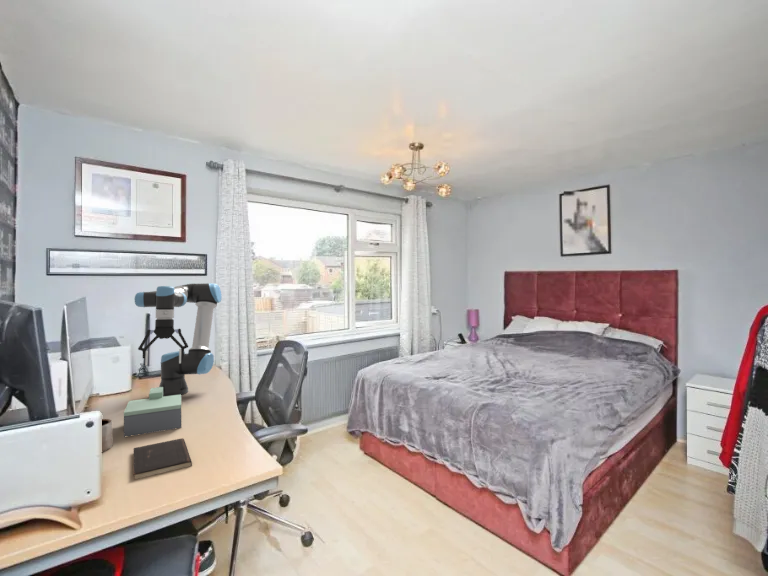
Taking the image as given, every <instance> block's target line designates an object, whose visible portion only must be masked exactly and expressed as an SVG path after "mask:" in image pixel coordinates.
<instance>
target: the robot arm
mask: <svg viewBox="0 0 768 576" xmlns="http://www.w3.org/2000/svg"><path fill="white" fill-rule="evenodd" d="M222 296H223V295H222V291H221V288H220V286H219V284H217V283H212V282H209V283H208V282H207V283H187V284H182V285H178V286H170V285H160V286H157V287H156V290H153V291H139V292H136V294H135V295H134V304H135V305H136V306H137V307H138V308H155V321H154V329H147V331H146V335H145V337H144V338H143V340H142V341H141V342H140V344H139V346H138V348H137V350H138V351H141V352H142V359H145V361H144V362H145V364H144V365H145V367H146V366H148V363H149V362H148V358H149V351H148V349H149V348H150V347H151V346H152V345H153V344H154V343H155V342H156V341H157V340H158V339H160V340H164V339H165V340H166V339H172V341H173V342H174V343H175V344H176V345H177V346H178V347H179V348H180V349H179V350H177V351H171V352H167V353H165V354H162V355H161V357H160V375H161V376H160V384H159V386H158V387H163V397H164V396H172V395H180V394H182V395H185V394H187V393H188V392H189V386H188V384H187V381H186V377H185V375H205V374H208V373H209V372H210V371H211V370H212V368H213V366H214V363H215V358H214V357H215V356H214V353H212V349H211V348H209V346H210V340H211V339H210V337H211V330H212V324H213V323H212V322H213V313H214V309H215V308H216V307H217V306H218V305H217V304H218V303H221V301H222V298H223V297H222ZM187 303H193V304H194V303H195V306H196V307H197V310H196V311H197V312H196V318H195V326H194V332H193V340H192V345H191V347H190V348H189V345H188V343H187V341H186V339H185V338H184V336H183V334H182V328H177V329H175V328H174V327H175V326H174V325H175V323H174V321H175V320H174V318H175V308H181V307H183V306H185V305H186V304H187ZM153 333H154V335H156V336H155V337H153V338H152V340H150V342H148V343H147V344H146V342H147V340H148V338H149V337H150V335H153ZM174 333H176V334H178V336H179V338H180V339H181V341H182V343H183V344H182V343H180V342H179V341H178V339H177V338H176V337H175V336H174ZM145 344H146V345H145ZM144 345H145V346H144ZM187 348H189V349H188V351H187V353H186V352H185V349H187ZM184 393H185V394H184Z"/></svg>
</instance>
